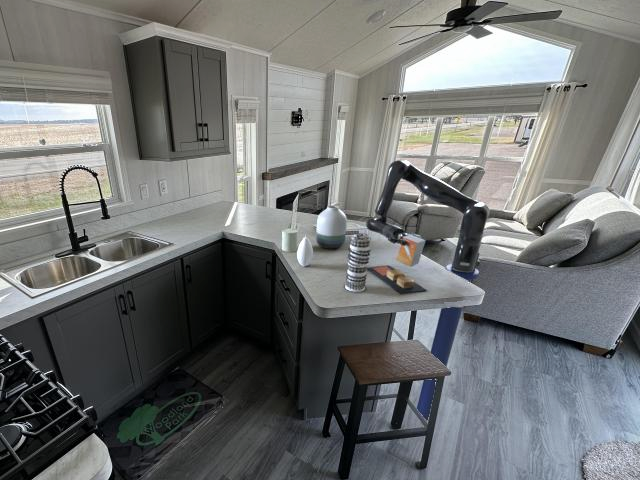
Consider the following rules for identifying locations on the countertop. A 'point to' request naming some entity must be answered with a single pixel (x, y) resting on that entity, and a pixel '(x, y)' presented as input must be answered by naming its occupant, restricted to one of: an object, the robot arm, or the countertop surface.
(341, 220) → the vase
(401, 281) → the letter block
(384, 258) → the countertop surface
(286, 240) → the can
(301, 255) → the white teardrop ornament
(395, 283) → the word mat
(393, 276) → the block
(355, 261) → the decorative candle
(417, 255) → the small box
